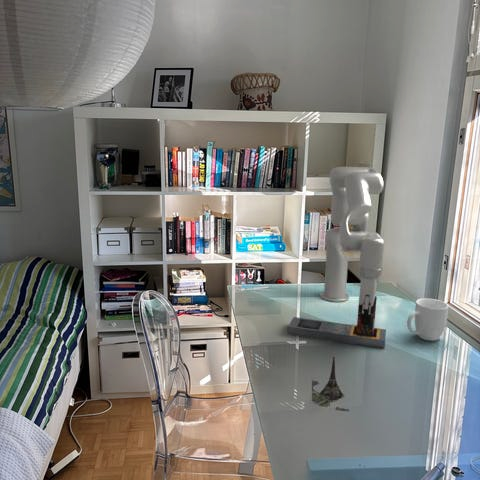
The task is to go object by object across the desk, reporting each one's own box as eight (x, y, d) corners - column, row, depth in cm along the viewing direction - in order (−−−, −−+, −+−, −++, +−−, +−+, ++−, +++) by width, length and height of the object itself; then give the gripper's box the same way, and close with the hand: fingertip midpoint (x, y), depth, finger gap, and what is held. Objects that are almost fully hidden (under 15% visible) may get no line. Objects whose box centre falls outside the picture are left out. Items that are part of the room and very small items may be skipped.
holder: (293, 324, 185) (293, 316, 185) (385, 337, 175) (386, 329, 175) (287, 334, 176) (288, 326, 175) (384, 348, 166) (385, 339, 165)
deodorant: (373, 340, 169) (377, 300, 166) (356, 338, 170) (359, 298, 167) (372, 333, 175) (376, 294, 172) (355, 332, 176) (359, 293, 173)
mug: (416, 346, 168) (419, 311, 165) (397, 333, 178) (400, 300, 176) (451, 341, 173) (455, 307, 170) (430, 329, 183) (434, 297, 180)
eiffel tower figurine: (311, 381, 144) (313, 340, 141) (345, 384, 143) (349, 342, 140) (311, 409, 130) (314, 363, 127) (350, 413, 128) (353, 367, 125)
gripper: (360, 264, 176) (357, 311, 180) (356, 277, 160) (352, 328, 165) (382, 266, 174) (378, 313, 178) (380, 280, 158) (375, 331, 162)
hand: (366, 320), depth 171 cm, fingers closed on deodorant, 5 cm apart
